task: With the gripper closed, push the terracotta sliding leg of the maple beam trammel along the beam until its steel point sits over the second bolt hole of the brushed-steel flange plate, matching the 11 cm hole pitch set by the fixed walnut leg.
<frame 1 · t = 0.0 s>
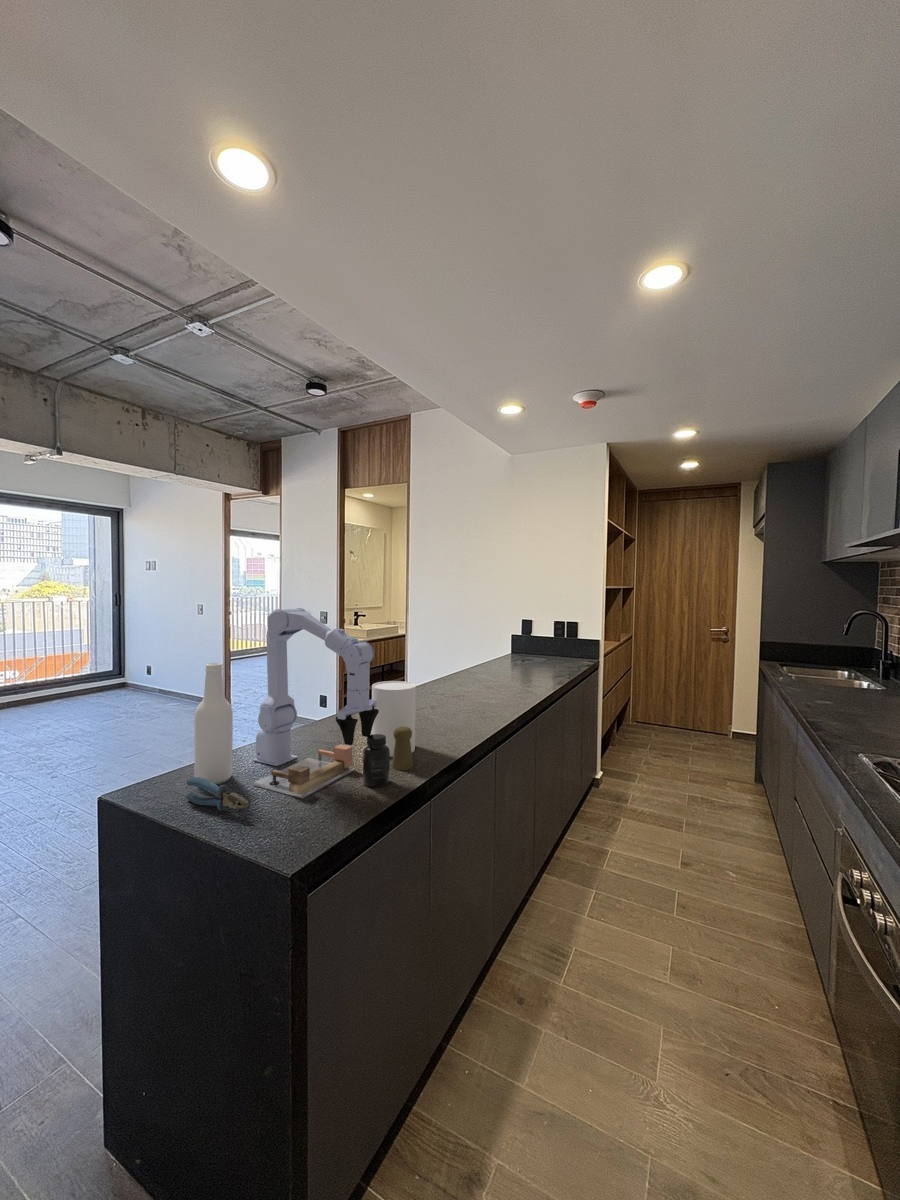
hand: (357, 740, 128), 10 cm above the counter, fingers open, 7 cm apart
flange plate: (305, 777, 128), on the counter
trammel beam: (320, 781, 126), resting on flange plate
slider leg: (333, 754, 135), point 4 cm above the counter, slide at 0.0 cm
alcohol: (213, 780, 126), on the counter
cork: (402, 766, 137), on the counter
pliers: (216, 810, 110), on the counter
supplement bottle: (376, 783, 126), on the counter
canister: (393, 749, 152), on the counter
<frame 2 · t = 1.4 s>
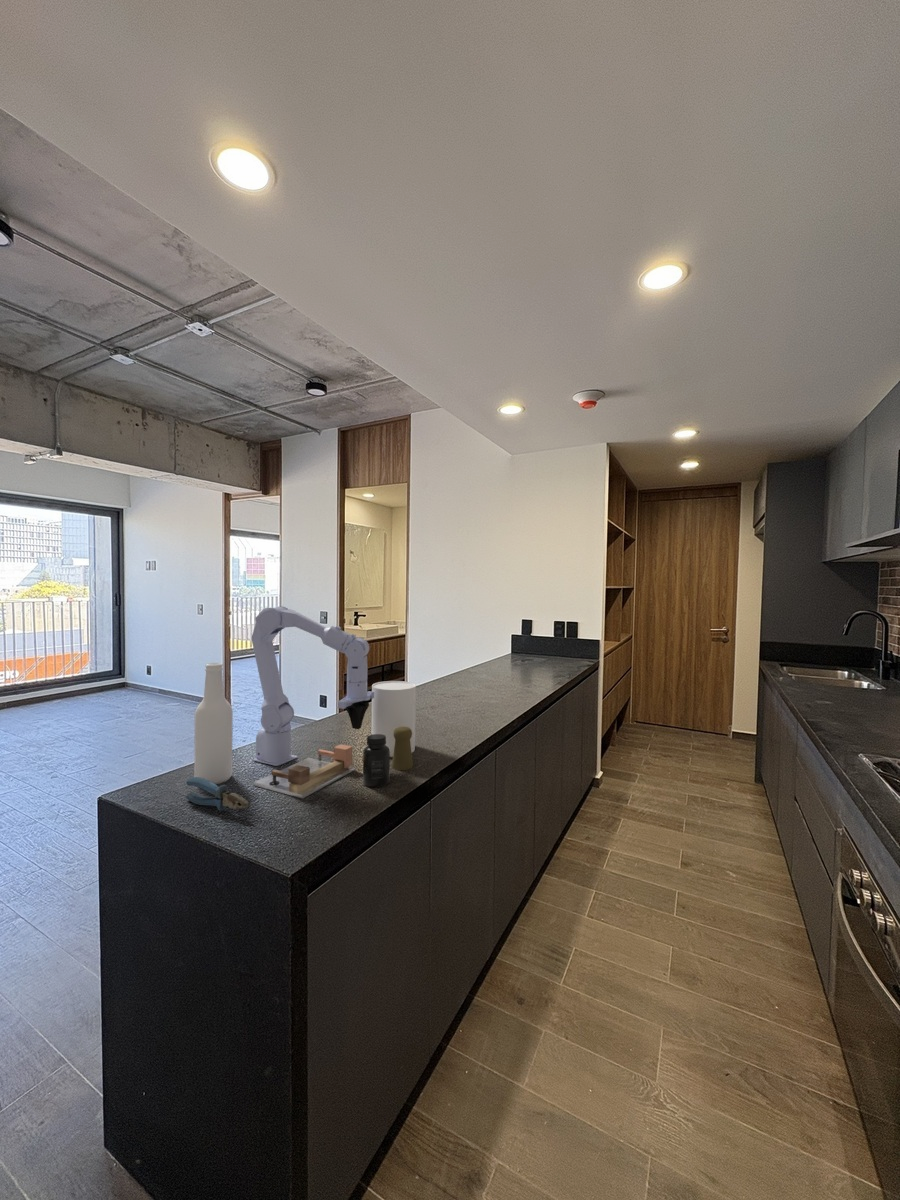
hand: (356, 728, 139), 10 cm above the counter, fingers closed
nothing on the counter moved.
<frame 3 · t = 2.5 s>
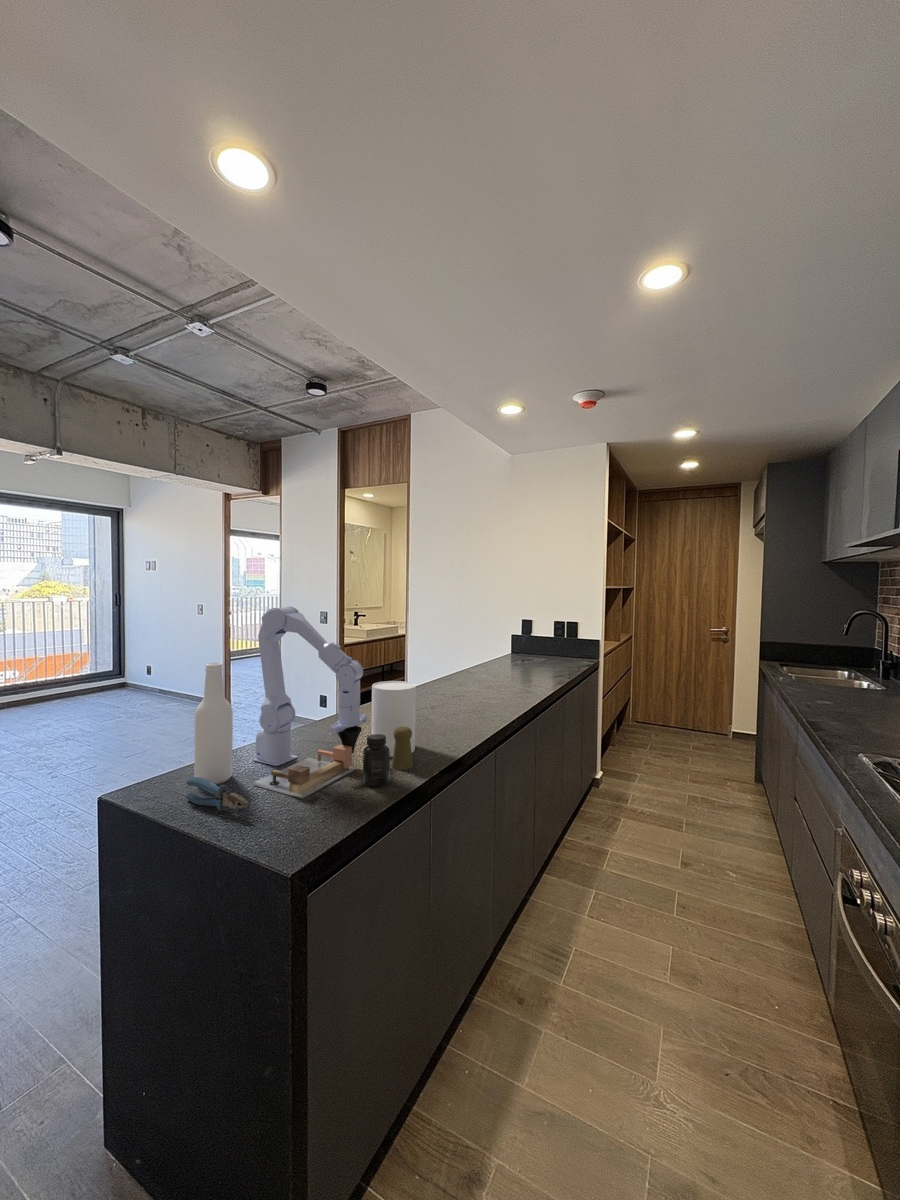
hand: (348, 753, 136), 4 cm above the counter, fingers closed
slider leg: (333, 754, 135), point 4 cm above the counter, slide at 0.3 cm, touching gripper
everything else where it was.
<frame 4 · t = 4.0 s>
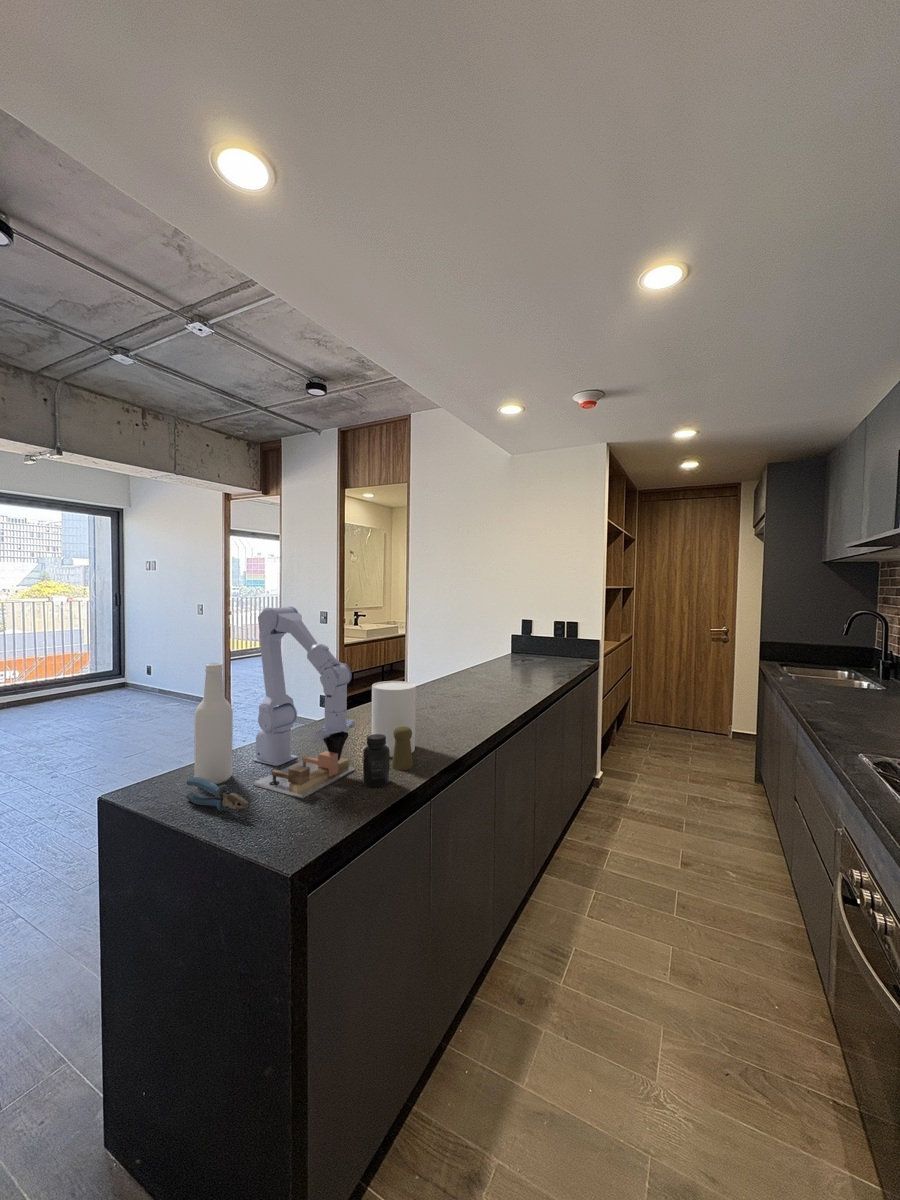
hand: (335, 760, 131), 4 cm above the counter, fingers closed
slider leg: (318, 761, 130), point 4 cm above the counter, slide at 6.3 cm, touching gripper
everything else where it was.
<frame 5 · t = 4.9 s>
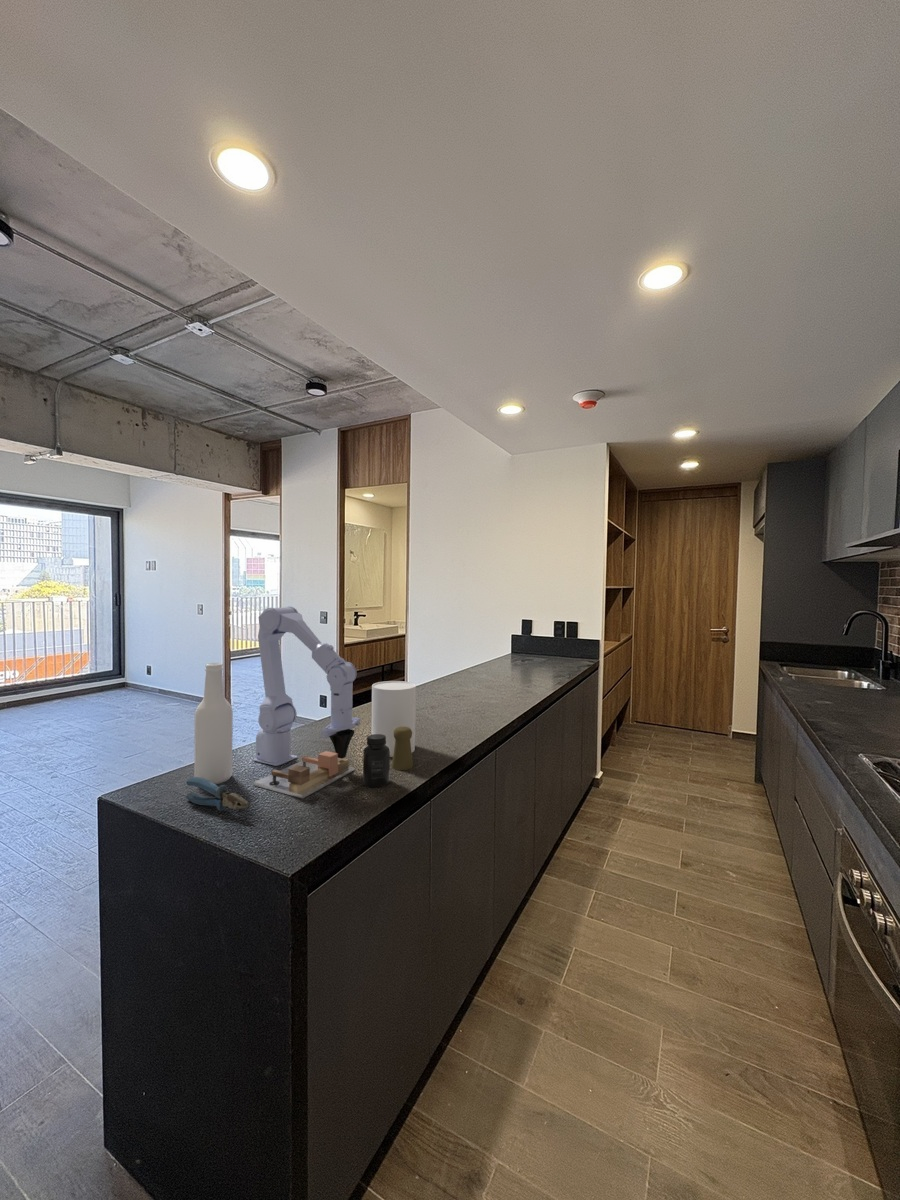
hand: (341, 757, 133), 4 cm above the counter, fingers closed
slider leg: (318, 761, 130), point 4 cm above the counter, slide at 6.3 cm
everything else where it was.
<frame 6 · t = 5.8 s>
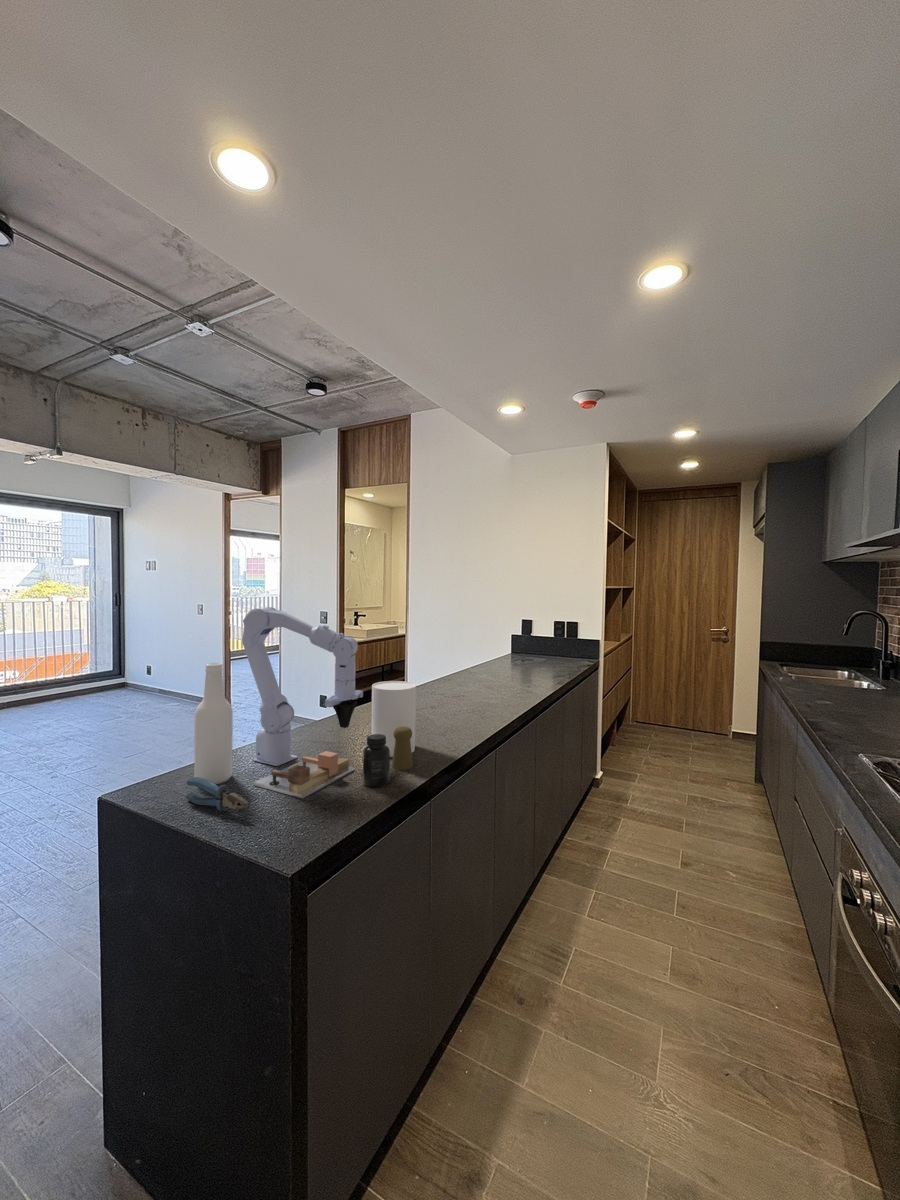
hand: (344, 727, 139), 10 cm above the counter, fingers closed
nothing on the counter moved.
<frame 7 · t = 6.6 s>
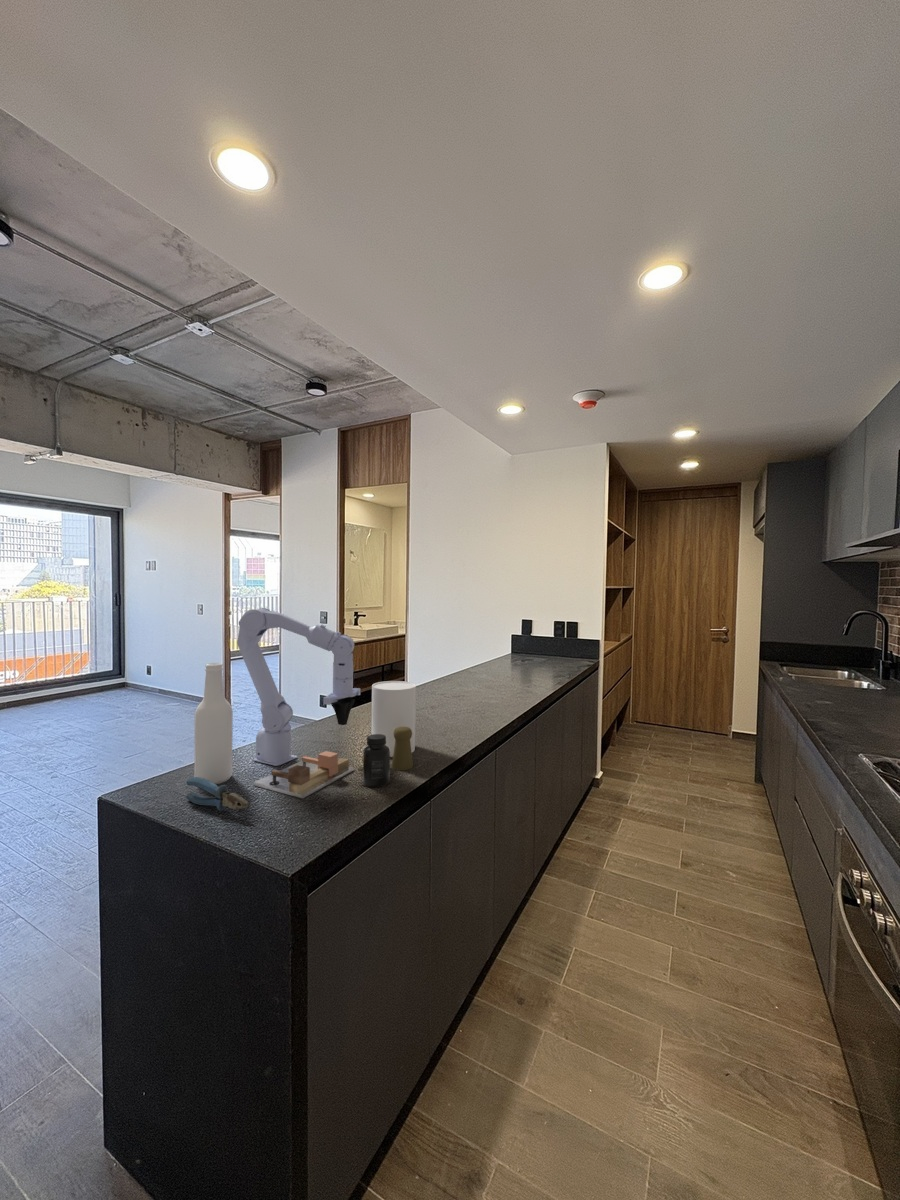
hand: (342, 724, 141), 10 cm above the counter, fingers closed
nothing on the counter moved.
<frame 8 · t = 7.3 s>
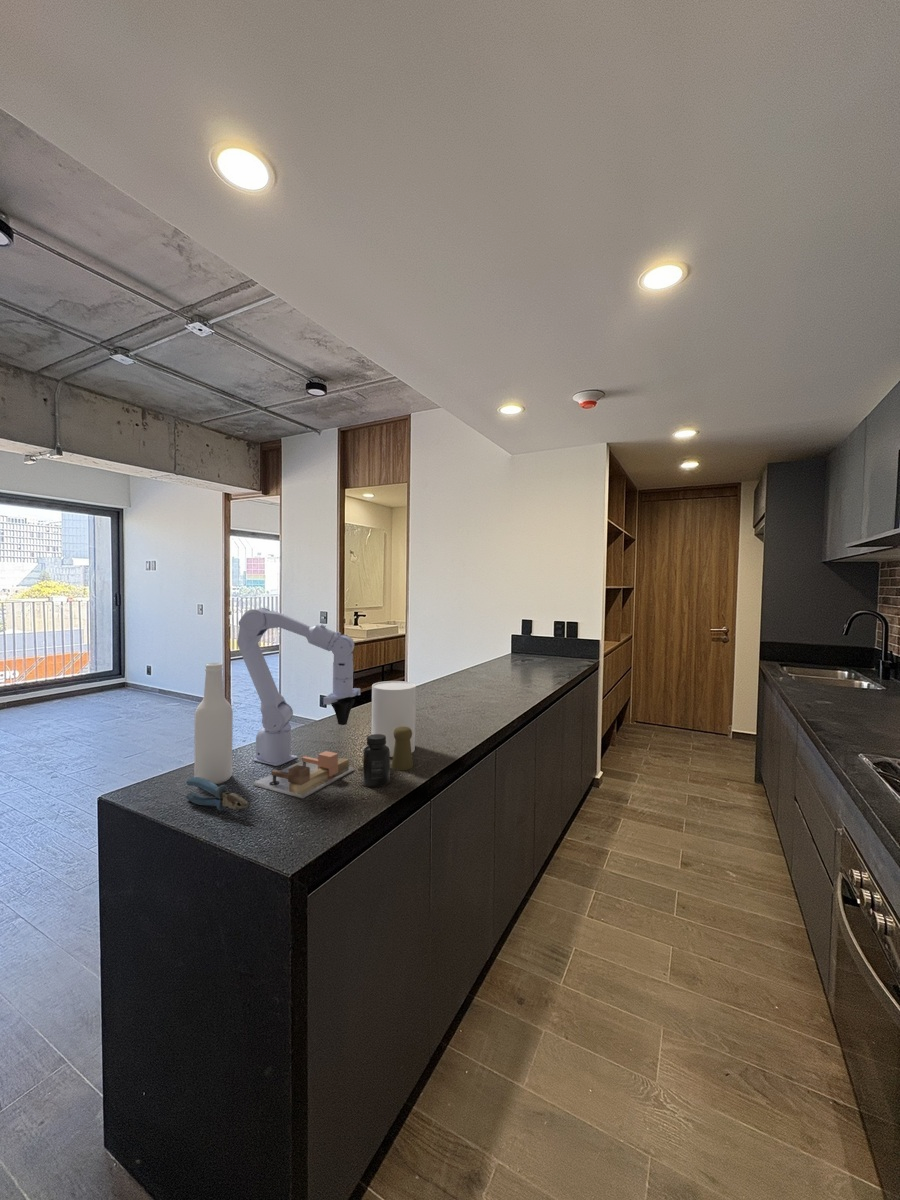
hand: (342, 724, 141), 10 cm above the counter, fingers closed
nothing on the counter moved.
at the end: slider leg slide at 6.3 cm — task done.
